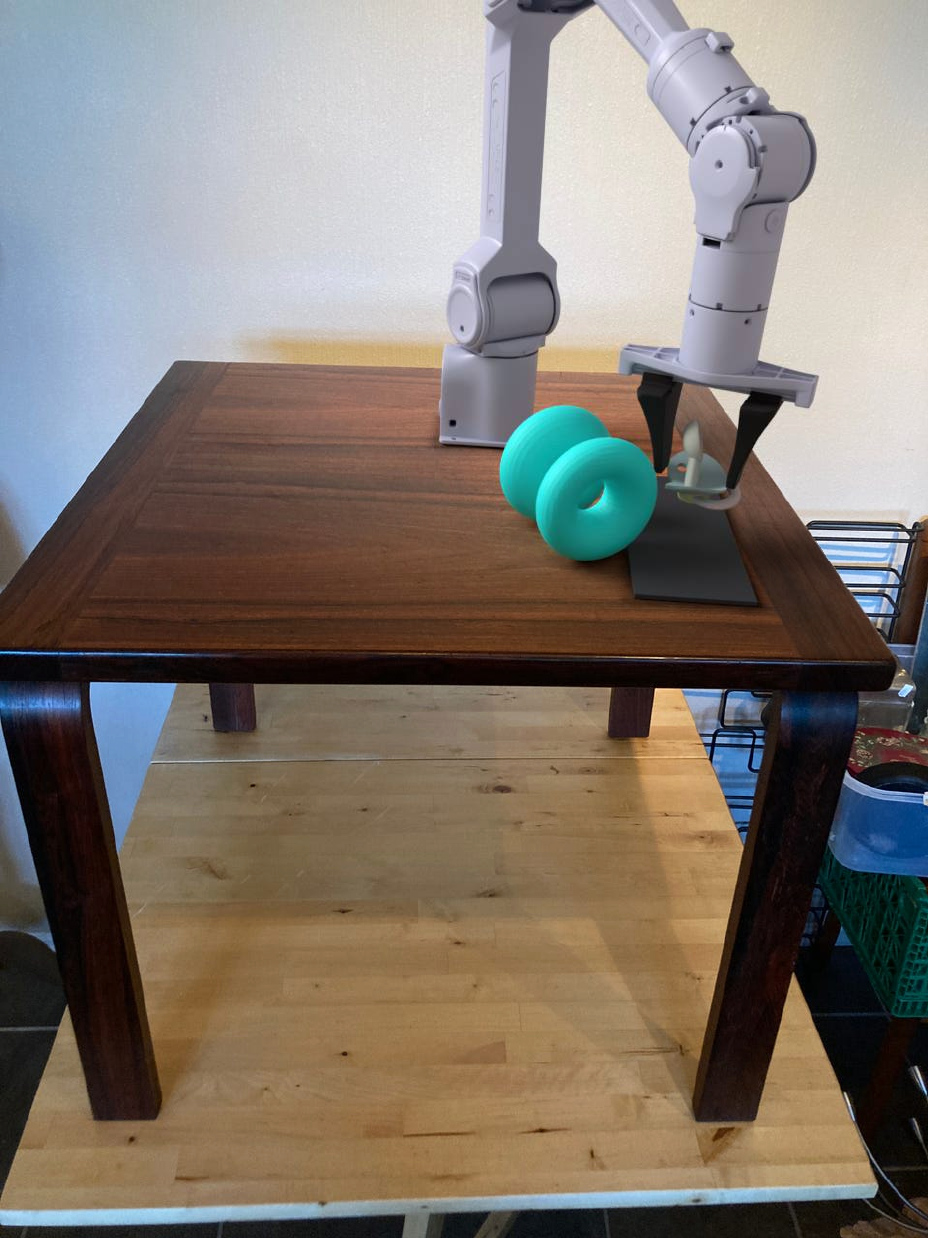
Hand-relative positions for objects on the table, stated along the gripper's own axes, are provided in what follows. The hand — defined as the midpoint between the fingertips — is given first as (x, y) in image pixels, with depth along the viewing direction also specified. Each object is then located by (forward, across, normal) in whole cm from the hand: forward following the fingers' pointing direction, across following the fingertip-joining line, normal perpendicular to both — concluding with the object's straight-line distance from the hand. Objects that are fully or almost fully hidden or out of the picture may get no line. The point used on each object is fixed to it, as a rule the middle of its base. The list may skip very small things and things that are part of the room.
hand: (696, 476), depth 77 cm
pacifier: (+2, -1, 0) cm, 2 cm away
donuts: (+6, +8, +4) cm, 11 cm away
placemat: (+6, +1, -1) cm, 6 cm away
